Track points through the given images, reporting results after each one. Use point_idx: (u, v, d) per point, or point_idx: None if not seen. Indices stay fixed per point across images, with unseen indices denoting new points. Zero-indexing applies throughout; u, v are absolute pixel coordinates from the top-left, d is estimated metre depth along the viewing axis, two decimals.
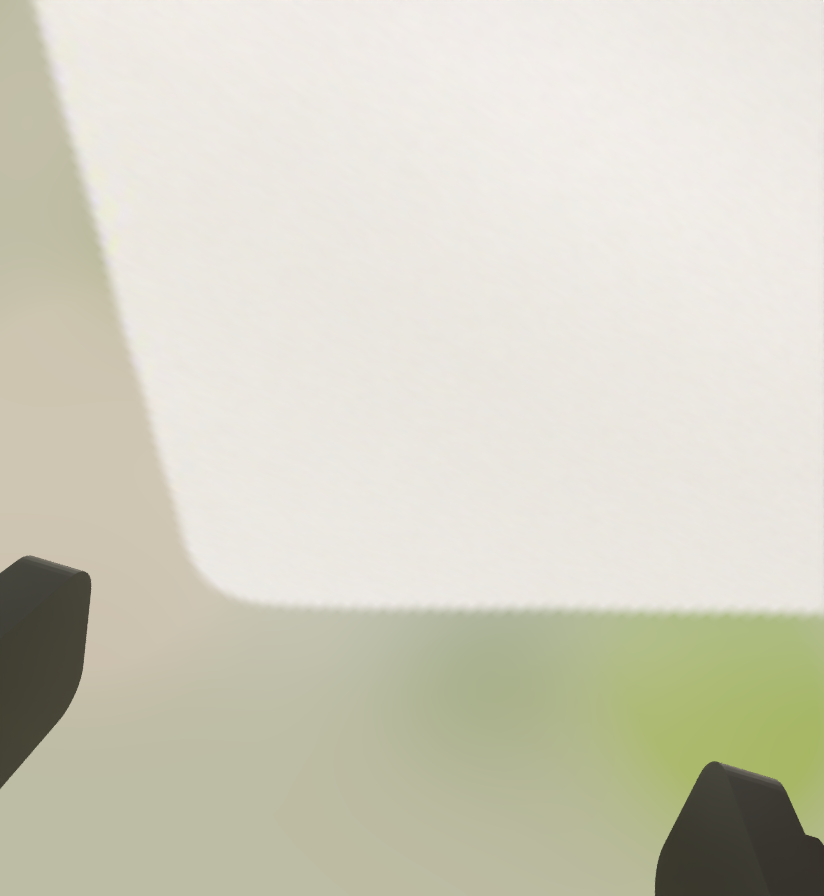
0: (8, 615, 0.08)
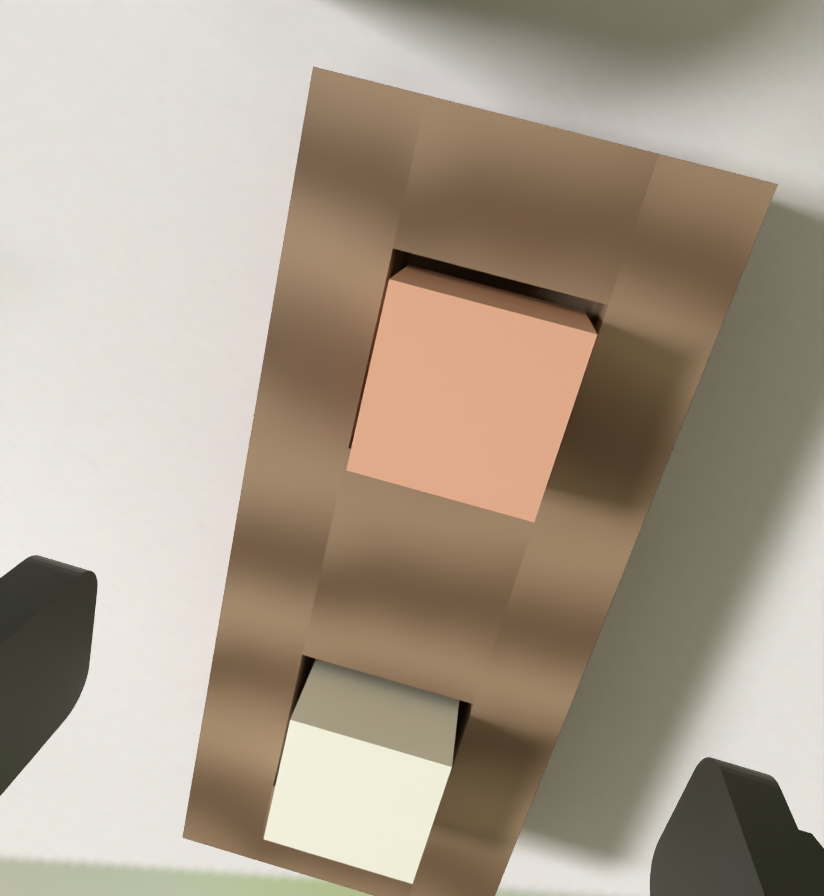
0: (16, 614, 0.08)
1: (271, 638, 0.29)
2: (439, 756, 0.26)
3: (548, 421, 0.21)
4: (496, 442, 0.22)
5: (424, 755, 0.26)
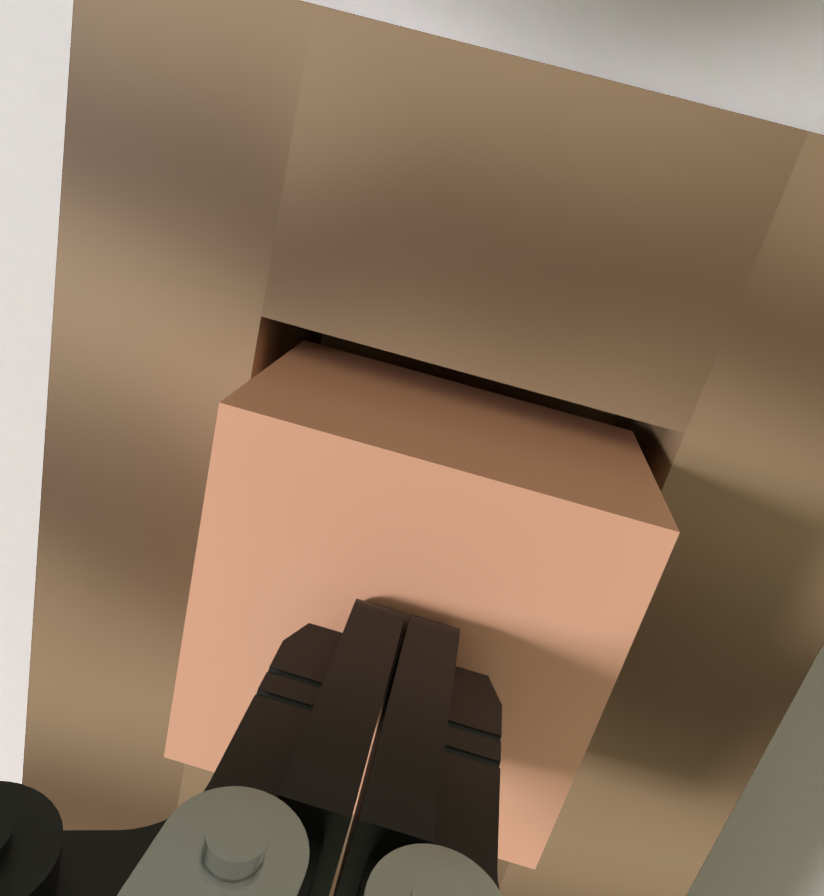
0: (380, 657, 0.09)
1: None
2: None
3: (565, 696, 0.10)
4: None
5: None
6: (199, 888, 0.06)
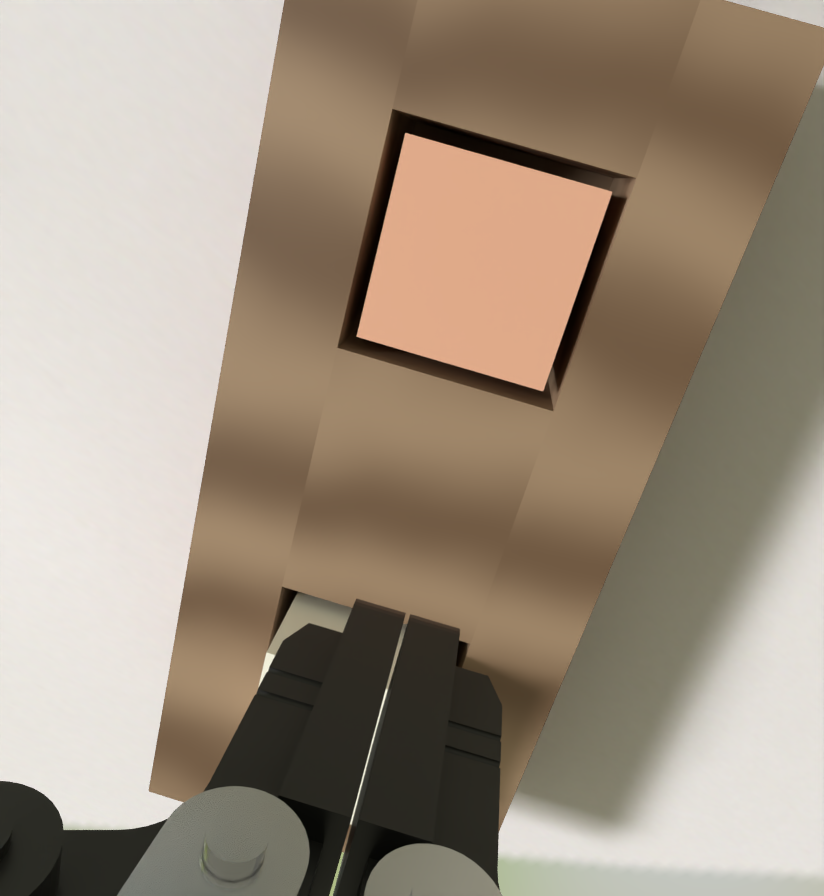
0: (380, 657, 0.09)
1: (247, 567, 0.26)
2: None
3: (560, 284, 0.21)
4: (508, 307, 0.22)
5: None
6: (199, 888, 0.06)
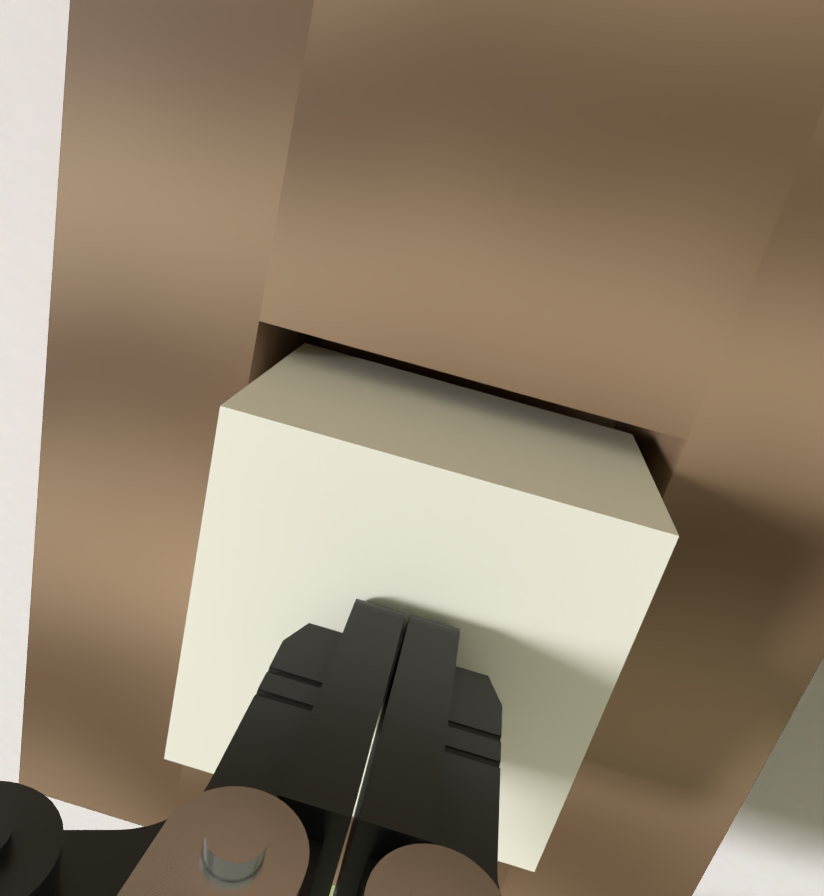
0: (380, 657, 0.09)
1: (181, 278, 0.12)
2: (636, 513, 0.09)
3: None
4: None
5: (595, 507, 0.09)
6: (199, 888, 0.06)
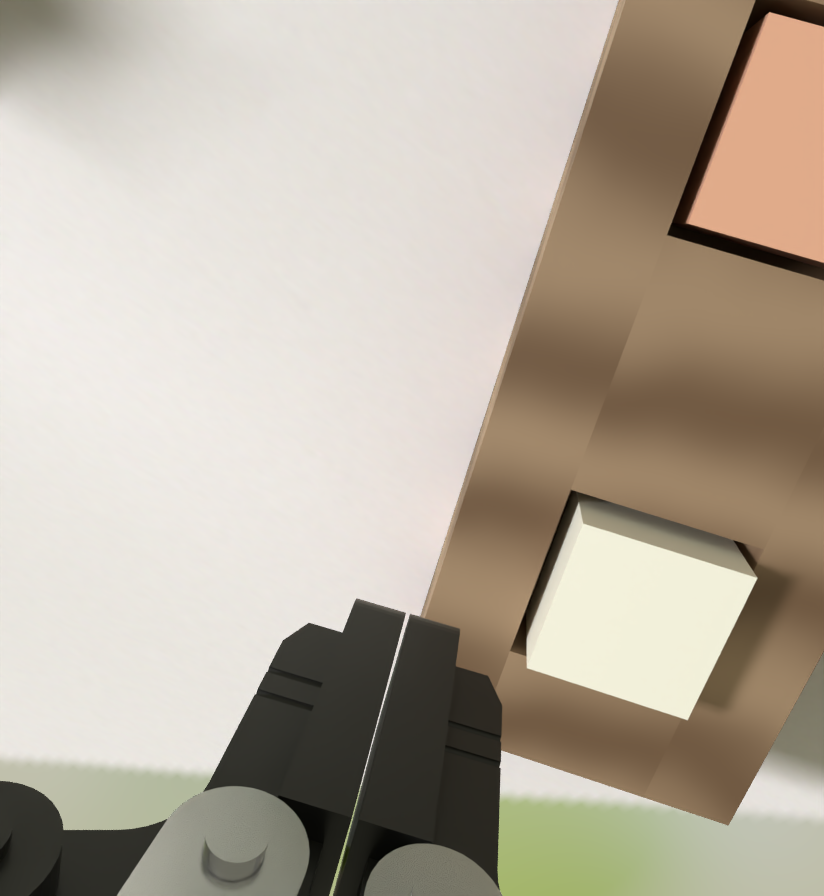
0: (380, 657, 0.09)
1: (537, 469, 0.26)
2: (740, 568, 0.25)
3: None
4: None
5: (725, 566, 0.25)
6: (199, 888, 0.06)
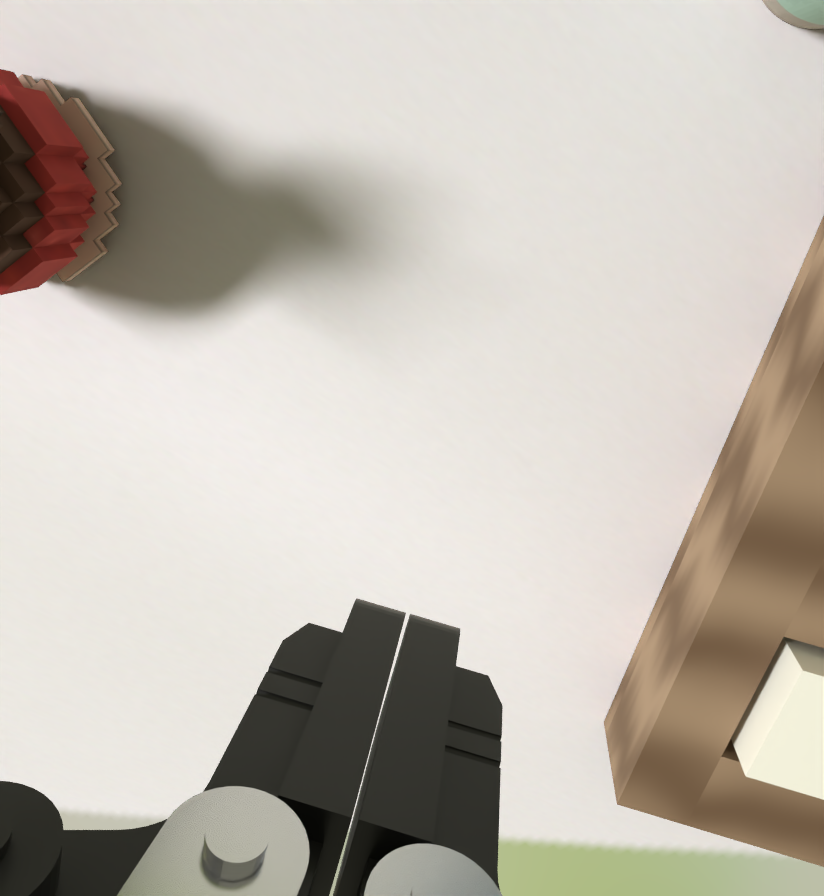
0: (380, 657, 0.09)
1: (756, 621, 0.32)
2: None
3: None
4: None
5: None
6: (199, 888, 0.06)
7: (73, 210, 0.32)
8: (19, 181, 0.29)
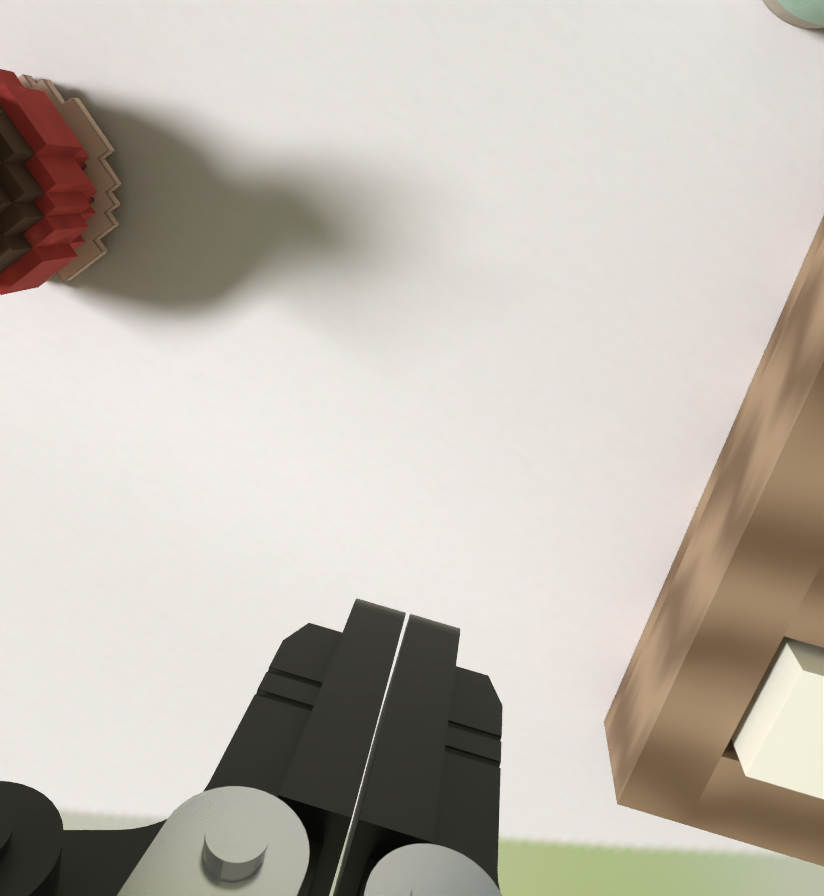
0: (380, 657, 0.09)
1: (756, 621, 0.32)
2: None
3: None
4: None
5: None
6: (199, 888, 0.06)
7: (73, 210, 0.32)
8: (19, 181, 0.29)
